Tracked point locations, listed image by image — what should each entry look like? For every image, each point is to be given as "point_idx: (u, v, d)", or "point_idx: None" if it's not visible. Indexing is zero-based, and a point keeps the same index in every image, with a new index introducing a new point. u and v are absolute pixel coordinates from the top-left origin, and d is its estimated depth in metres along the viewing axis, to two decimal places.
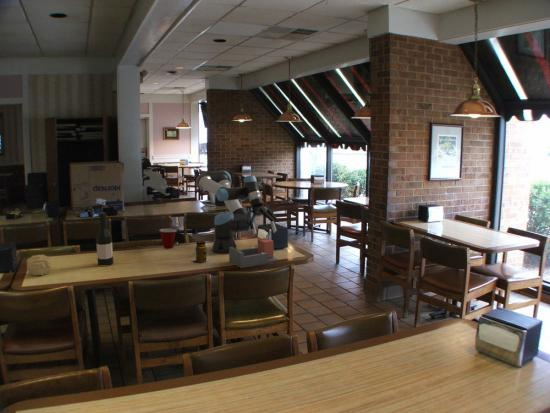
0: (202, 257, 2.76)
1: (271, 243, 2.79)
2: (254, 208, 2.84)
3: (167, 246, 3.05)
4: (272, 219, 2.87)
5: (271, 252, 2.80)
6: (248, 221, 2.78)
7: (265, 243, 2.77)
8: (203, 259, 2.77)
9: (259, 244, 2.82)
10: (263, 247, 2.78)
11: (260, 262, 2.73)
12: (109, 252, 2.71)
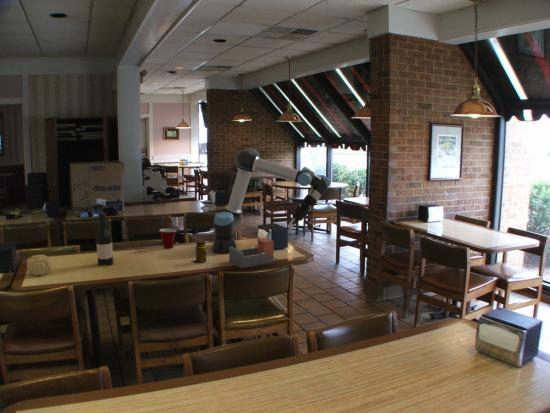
0: (202, 257, 2.76)
1: (271, 243, 2.79)
2: None
3: (167, 246, 3.05)
4: None
5: (271, 252, 2.80)
6: (300, 220, 2.87)
7: (265, 243, 2.77)
8: (203, 259, 2.77)
9: (259, 244, 2.82)
10: (263, 247, 2.78)
11: (260, 262, 2.73)
12: (109, 252, 2.71)
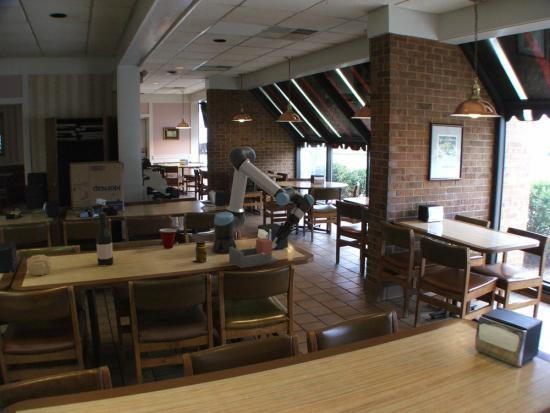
0: (202, 257, 2.76)
1: (269, 243, 2.79)
2: None
3: (167, 246, 3.05)
4: None
5: (269, 252, 2.80)
6: (283, 239, 2.83)
7: (263, 243, 2.76)
8: (203, 259, 2.77)
9: (257, 244, 2.81)
10: (261, 247, 2.78)
11: (260, 262, 2.73)
12: (109, 252, 2.71)
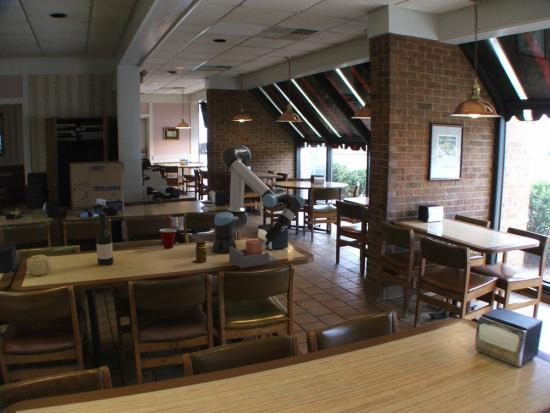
0: (202, 257, 2.76)
1: (259, 245, 2.75)
2: None
3: (167, 246, 3.05)
4: None
5: None
6: (273, 241, 2.80)
7: (253, 245, 2.73)
8: (203, 259, 2.77)
9: (247, 246, 2.78)
10: (251, 249, 2.74)
11: (260, 262, 2.73)
12: (109, 252, 2.71)
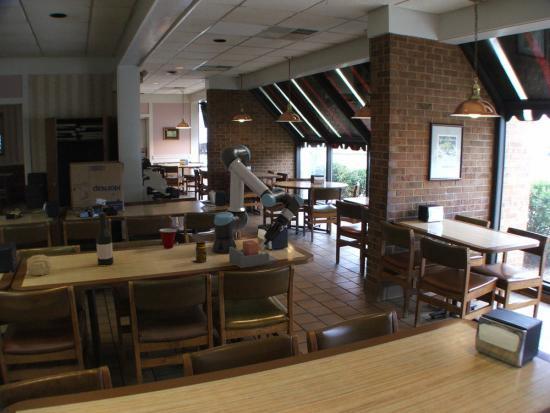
0: (202, 257, 2.76)
1: (256, 245, 2.74)
2: None
3: (167, 246, 3.05)
4: None
5: None
6: None
7: (250, 245, 2.72)
8: (203, 259, 2.77)
9: (244, 246, 2.77)
10: (248, 249, 2.73)
11: (260, 262, 2.73)
12: (109, 252, 2.71)
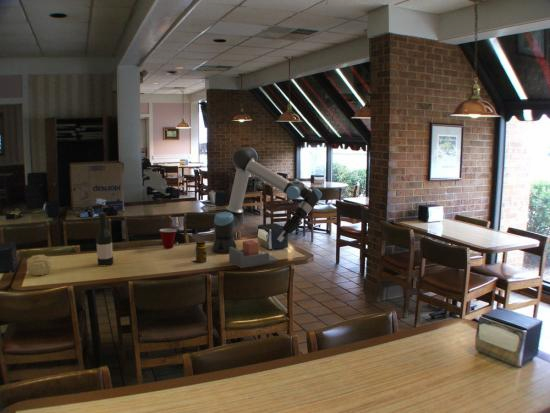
0: (202, 257, 2.76)
1: (256, 245, 2.74)
2: None
3: (167, 246, 3.05)
4: None
5: None
6: (290, 233, 2.85)
7: (250, 245, 2.72)
8: (203, 259, 2.77)
9: (244, 246, 2.77)
10: (248, 249, 2.73)
11: (260, 262, 2.73)
12: (109, 252, 2.71)
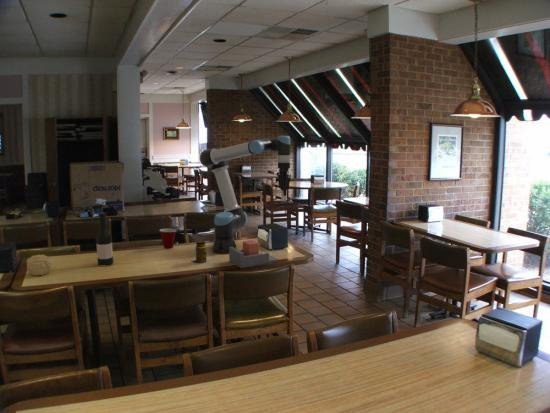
0: (202, 257, 2.76)
1: (256, 245, 2.74)
2: None
3: (167, 246, 3.05)
4: None
5: None
6: (288, 188, 2.89)
7: (250, 245, 2.72)
8: (203, 259, 2.77)
9: (244, 246, 2.77)
10: (248, 249, 2.73)
11: (260, 262, 2.73)
12: (109, 252, 2.71)
